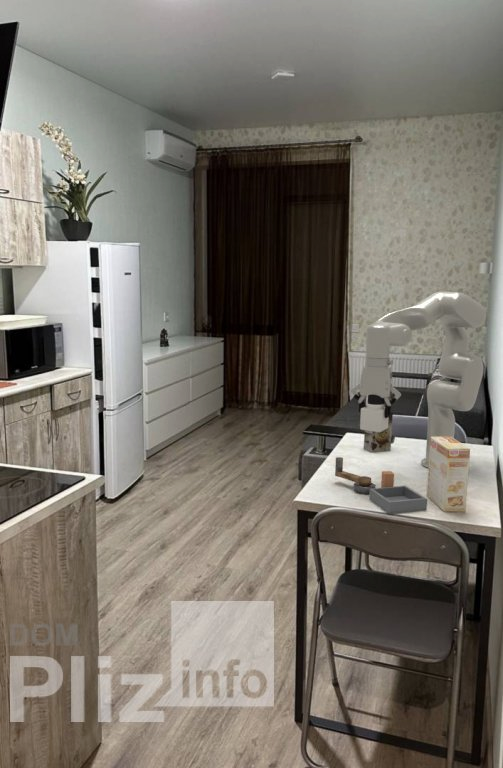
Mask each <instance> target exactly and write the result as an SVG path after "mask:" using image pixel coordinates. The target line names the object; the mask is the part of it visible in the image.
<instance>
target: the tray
mask: <svg viewBox="0 0 503 768" xmlns="http://www.w3.org/2000/svg"><path fill="white" fill-rule="evenodd" d="M368 495H369V496H368V500H369V501H370V502H372V503H373V504H375V505H376V506H377V507H378V508H381V509H382V511H384V512H386V513H387V514H389V515H390V514H398V513H409V512H417V511H427V508H428V507H427V505H428V498H427V497H425V495H424V496H423V495H422V494H420V493H419V492H418V491H415V490H413V489H412V488H410V487H409V486H407V485H397V486H395V485H394V487H383V488H381V487H376V488H372V489H370V491H369V494H368Z"/></svg>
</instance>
